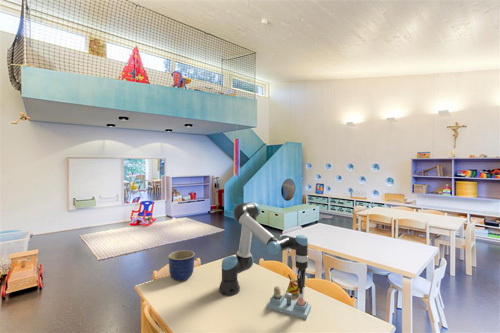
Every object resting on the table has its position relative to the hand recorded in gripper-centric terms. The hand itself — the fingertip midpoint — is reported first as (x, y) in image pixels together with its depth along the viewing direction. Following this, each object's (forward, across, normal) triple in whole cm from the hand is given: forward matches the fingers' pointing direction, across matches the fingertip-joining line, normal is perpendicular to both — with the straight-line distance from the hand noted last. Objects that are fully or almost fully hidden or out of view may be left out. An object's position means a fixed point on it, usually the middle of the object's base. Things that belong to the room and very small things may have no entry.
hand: (301, 297), depth 157 cm
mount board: (+9, 0, +8) cm, 12 cm away
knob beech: (+4, 0, +16) cm, 17 cm away
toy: (+9, +20, +10) cm, 24 cm away
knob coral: (+7, 0, 0) cm, 7 cm away
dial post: (+6, 0, +8) cm, 10 cm away
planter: (+9, +1, +99) cm, 100 cm away
